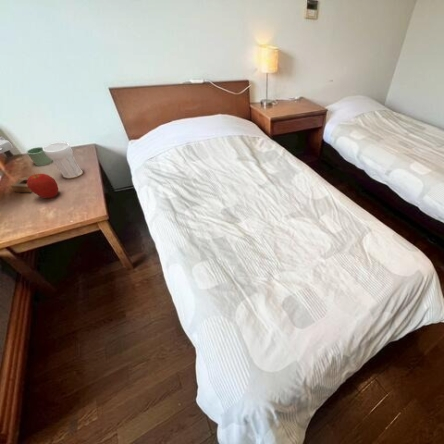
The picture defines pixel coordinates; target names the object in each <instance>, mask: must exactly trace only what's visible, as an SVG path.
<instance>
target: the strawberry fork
mask: <svg viewBox="0 0 444 444" xmlns="http://www.w3.org/2000/svg"><path fill="white" fill-rule="evenodd" d="M3 155H5V156H6V158H12V157H14V155H15V154H13V152H12V151H11V149H10V150H8V151H6V152H4V153H3Z"/></svg>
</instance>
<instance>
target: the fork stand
mask: <svg viewBox="0 0 444 444" xmlns="http://www.w3.org/2000/svg"><path fill="white" fill-rule="evenodd" d="M28 178H29V177H25V176H22V177H21V178H20V179H18V180H17V181H15V182H14V183H12V184H10V187H11V188H12V189H13V191H14V192H18V193H33V192H32V191H31V190H30V189H29V188H28V186H27V180H28Z"/></svg>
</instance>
